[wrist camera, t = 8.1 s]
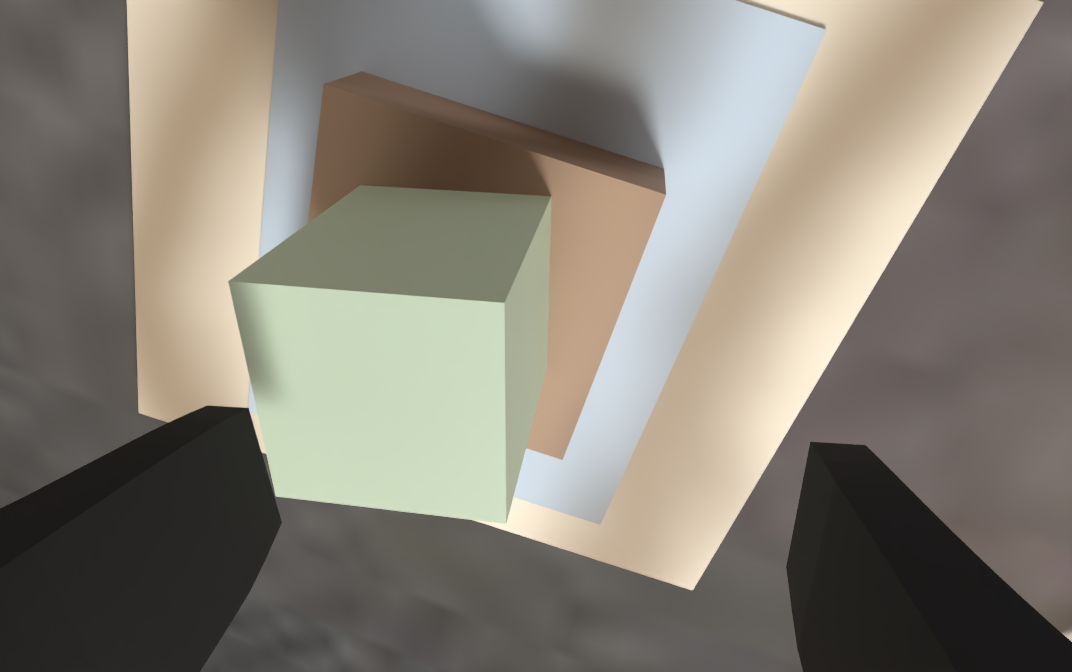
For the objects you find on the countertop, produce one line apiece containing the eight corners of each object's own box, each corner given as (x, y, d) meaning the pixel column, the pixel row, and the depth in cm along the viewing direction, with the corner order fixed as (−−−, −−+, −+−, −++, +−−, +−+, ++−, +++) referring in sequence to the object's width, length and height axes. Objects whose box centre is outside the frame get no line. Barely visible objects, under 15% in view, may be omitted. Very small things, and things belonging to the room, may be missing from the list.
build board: (1022, 0, 13) (1111, 7, 11) (691, 570, 22) (696, 649, 19) (146, -284, 13) (25, -347, 11) (155, 398, 21) (89, 455, 19)
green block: (551, 196, 13) (504, 302, 9) (546, 367, 15) (506, 523, 11) (360, 185, 14) (228, 281, 10) (379, 352, 16) (275, 496, 11)
